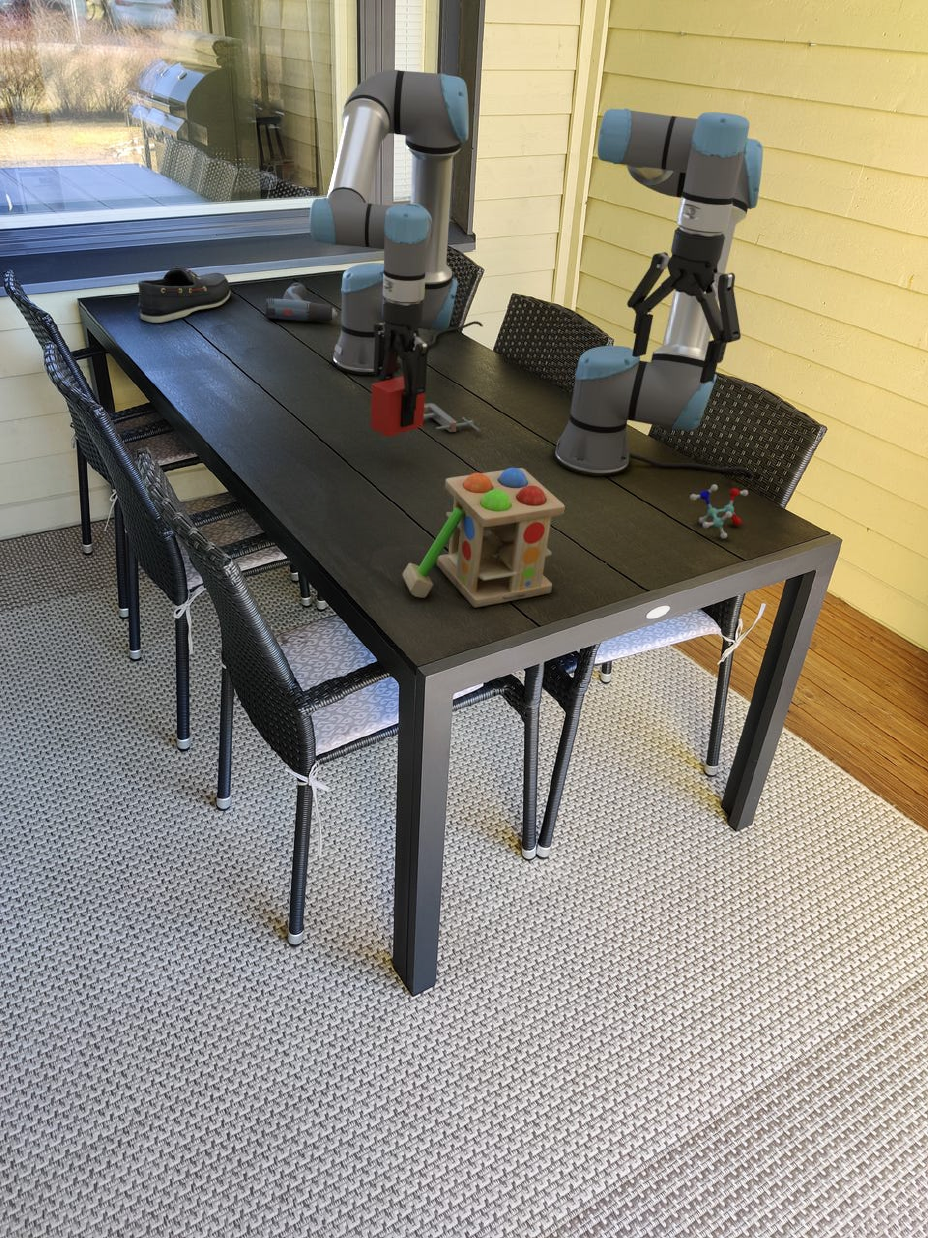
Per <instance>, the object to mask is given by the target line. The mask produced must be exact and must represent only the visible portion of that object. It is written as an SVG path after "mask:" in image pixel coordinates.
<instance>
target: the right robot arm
mask: <svg viewBox="0 0 928 1238" xmlns="http://www.w3.org/2000/svg"><path fill="white" fill-rule="evenodd" d="M599 127H600V128H599V132H598V139H597V157H598V159H599V160H600V161H602V162H606V163H612V164H613V165H624V166H626V168H627V171H628V173H629V175H630V176H631V178H632V179H634V181H636V182H637V183H638V184H640V185H642V186H644V187H646V188H648V189H650V190H652V191H654V192H656V193H659V194H663V195H664V196H668V197H674V198H679V199H680V204H679V208H678V213H677V219H676V224H677V225H678V227H677V228H676V229H674V233H673V238H672V243H671V247H670V252H671V256H669V254H668V252H667V251H664V252H658V253H654V254H653V256H652V258H651V262H650V265H649V268H648V269H647V271H645V274H644V276H643V277H642V279H641V280H640V282H639V283H638V285H637V286H636V288H635V289H634V291H633V292H632V294H631V296H630V297H629V298H628V300H627V303H626V305H627V307H628V308H629V309H633V310H634V313H635V319H634V324H633V329H632V330H633V334H635V338H634V343H633V348H631V347H627V346H621V345H603V346H597V347H593V348H590V349H588V350H586V351H584V352H583V353H582V354H581V355H580V357H579V360H578V363H577V368H576V372H575V374H574V387H573V392H572V398H571V405H570V412H569V417H568V422H567V424H566V426H565V428H564V430H563V432H562V434H561V435H560V437H558V440H557V442H556V447H555V450H554V451H555V452H554V458H555V459H554V460H556V462H557V463H558V464H559V465H560V466H561V467H563V468H565V469H566V470H569V471H572V472H573V473H577V474H580V475H585V476H590V477H591V476H592V477H611V476H616V475H619V474H622V473H625V471H626V470H627V469H628V467H629V462H630V459H633V460H636V461H640V462H643V463H646V464H649V465H652V466H655V467H661V468H692V469H693V468H694V469H699V470H707V471H708V470H709V471H714V472H728V473H729V472H743V473H746V474H747V475H748V476H749V477H750V478H755V474H754V473H753V472H752V471H751V472H748V470H747V469H748V468H746V467H745V466H744V467H743V466H732V467H731V466H730V467H729V466H728V467H722V466H713V465H707V464H700V463H692V462H660V461H656V460H652V459H649V458H646V457H644V456H640V455H637V454H633V453H630V449H629V444H628V442H629V441H628V436H627V425H628V421H631V422H636V423H641V424H647V425H652V426H658V427H661V428H663V427H664V428H668V429H671V430H680V431H688V432H690V431H694V430H696V429H697V428H698V427H699V426H700V423H701V421H702V418H703V415H704V413H705V411H706V408H707V405H708V402H709V399H710V396H711V393H712V391H713V389H714V385H715V383H716V381H717V379H718V375H717V374H716V372H717V368H718V364H721V363H722V362H723V360H724V357H725V353H726V349H727V346H728V344H729V343H733V342H736V341H740V340H741V338H742V337H741V336H742V334H741V329H740V327H741V326H740V322H739V316H738V309H737V302H736V296H735V291H734V290H735V289H734V288H735V282H736V275H735V273H734V272H728V273H726V269H727V265H728V260H729V256H730V253H731V248H732V244H733V238H734V234H735V230H736V227H737V225H738V224H739V223H741V222H742V221H743V220H745V219H746V218H747V215H748V210H752V209H755V208H756V207H757V205H758V201H759V193H760V185H761V180H762V179H761V178H762V169H763V168H762V167H763V157H764V156H763V155H764V148H763V144H762V143H761V141H759V140H758V139H754V138H749V131H750V121H749V120H748V118H747V117H745V116H742V115H739V114H735V113H728V112H719V111H717V112H716V111H708V112H702V113H701V114H699V115H698V117H697V118H694V117H693V118H692V117H687V116H679V115H677V116H676V115H668V114H667V115H666V114H659V113H652V112H645V111H639V110H638V111H637V110H631V109H630V108H623V109H622V108H609V109H607V110H606V111H605V112H604V114H603V116H602V119H601V123H600V126H599ZM666 269H667V270H668V274H669V276H668V277H666V278H665V280H663V281H662V282H661V283H660V285H659V286H658V287H657V288H656V289H655V290H654V291H653V292H652V293H651V294H650V292H651V291H652V289H653V288H654V287H655V285H656V284H657V282H658V281H659V278H660V277H661V276H662V275H663V273H664V271H665V270H666ZM672 292H673V295H672V300H671V305H670V309H669V314H668V318H667V323H666V327H665V332H664V336H663V341H662V345H661V346H660V347H658V348H657V349H656V350H654V351H653V352H652V355H651V359H650V361H645V360H641V357H642V356H645V355H647V351H648V345H649V339H650V335H651V329H652V325H653V320H654V314H651V312H653V311H652V310H653V309H655V307H657V306H658V305H659V304H660V303H661V302H662V301H663V300H664V299H665V298H667V297H668V296H669V295H670V294H671V293H672ZM711 336H712V339H713V340H711Z"/></svg>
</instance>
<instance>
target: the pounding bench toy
mask: <svg viewBox="0 0 928 1238" xmlns="http://www.w3.org/2000/svg"><path fill="white" fill-rule="evenodd" d="M444 489H445V490H446V491H447V492H448V494H450V496H451V497H452V498H453V504H452V505H453V506H452V511H446V512H445V515H446V516H447V520H446V521H445V523H444V525H443V527H442V528H441V530H440V531H439V533H438V535H437V536H436V538H435V540H434V542H433V543H432V544H431V547H430V548H429V550H428V552H426V555H425V556H424V558H423V560H422V562H421V563H420V564H419V565H418V564H415V563H412V562H409V563H408V564H407V565H406V567H405V569H404V570H403V572H402V575H401V576H402V578H403V580H404V582H405V584H406V586H407V588H408V591H409V593H410V594H411V595H412V596H414V597H416V598H420V599H421V598H423V599H424V598H426V597H427V596H428V594H429V593H430V592H431V590H432V588H433V586H434V584H433V581H432V579H431V577H430V575H429V573H430V572H431V570H432V569H433V567H434V565H435V563H436V565H437V567H438V568H439V570H440V571H441V572H442V573H443V574H444V575H445V576H446V578H447V579H448V580H449V581H450V582H451V583H452V584H453V586H454V587H455V588H456V589H457V590H458V591H459V593H461V595H462V596H463V597H464V599H466V601H468V602H469V604H470V605H471V606H472V607H473V608H481V607H487V606H492V605H496V604H501V603H506V602H507V603H508V602H511V601H512V602H513V601H517V600H521V599H522V600H523V599H527V598H533V597H537V596H542V595H547V594H550V593H552V588H553V583H552V582H551V581H550V580H549V579H548V577H546V576H545V575H544V571H545V569H544V568H545V563H546V558H547V557H549V556H552V554H553V553H552V551H551V550H550V549H549V548H548V544H549V536H550V529H551V522H552V517H558V516H562V515H564V513H565V508H566V506H565V505H564V503H563V502H562V501H561V500H559V499H558V498H557V497H556V496H555V495H554V494H553V493H552V492H551V491H549V490H548V489H547V488H546V487H545V486H544V485H542V483H540V481H538V480H537V479H536V478H535V477H534V476H532V474H530V473H529V472H528V471H527V470H526V469H525V468H523V467H519V468H518V467H508V468H506V469H502V470H496V471H494V470H493V471H487V472H473V473H471V474H467V475H466V474H465V475H459V476H452V477H447V478H446V479H445V484H444ZM484 531H490V532H488V533H486V534H484ZM448 542H449V545H448V546H449V547H448V553H447V554H441V553H442V552H443V550H444V549H445V547H446V545H447V544H448Z"/></svg>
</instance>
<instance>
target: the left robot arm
mask: <svg viewBox="0 0 928 1238" xmlns="http://www.w3.org/2000/svg"><path fill="white" fill-rule="evenodd" d="M469 115H470V114H469V95H468V88H467V84H466V82H465V80H464V79H463V78H461V77H460V76H455V75H454V76H453V75H448V74H445V73H438V72H437V73H436V72H423V71H422V72H421V71H409V70H399V69H393V68H392V69H391V68H390V69H385V70H381V71H378V72H375V73H374V74H372V75H369V76H368V77H367V78H365V79H364V80H362V81H361V82H360V83H359V84H358V85H356V87H355V88H354V89H353V90H352V91H351V93H350V94H349V95H348V97H347V99H346V100H345V104H344V106H343V110H342V114H341V125H342V127H343V132H342V135H341V139H340V143H339V147H338V151H337V156H336V160H335V164H334V168H333V173H332V176H331V180H330V184H329V188H328V191H327V192H328V193H327V196H326V197H323V198H315V199H314V200H312V202H311V205H310V208H309V209H310V210H309V232H310V236H311V238H312V239H313V240H314V241H315V242H319V243H324V244H328V245H329V244H330V245H332V246H334V245H335V246H345V247H347V246H348V247H360V248H370V249H376V250H377V249H379V250H383V263H382V262H370V263H369V262H368V263H361V264H356V265H352V266H351V267H348V268H346V270H345V271H344V272H343V274H342V277H341V278H342V281H341V287H340V292H341V319H340V321H341V324H340V325H341V326H340V329H341V330H340V336H339V338H338V341H337V343H335V347H334V349H333V350H334V352H333V361H332V362H333V363H332V364H333V366H334V367H335V368H337V369H338V370H339V371H342V372H344V373H347V374H352V375H356V376H375V377H378V378H379V382H382V381H386V380H390V379H394V378H396V376H395V371H396V368H397V364H398V359H399V358H400V360H401V367H402V374H403V375H402V376H403V377H404V386H405V392H404V393H402V405H401V425H400V426H401V427H406V426H409V425H413V424H414V410H416V403H417V395H418V394H422V393H425V394H426V391H427V373H428V355H429V352H430V348H431V347H432V346H434V345H435V344H436V341H437V337H438V336H440V335H441V334H444V333H447V332H453V331H459V330H462V329H465V328H467V327H470V326H473V325H478V326H479V327H484V325H483V323H482V322H480V321H476V320H473V321H470V322H468V323H466V324H463V325H460V326H455V327H451V328H448V327H449V326H450V323H451V319H452V314H453V310H454V305H455V300H456V294H457V290H458V284H459V281H458V280H457V279H455V278H454V277H453V270H452V268H451V267H450V266H448V264H447V255H448V241H449V240H448V239H449V225H450V224H449V223H450V209H451V193H452V192H451V191H452V178H453V177H452V176H453V159H454V156H455V155H456V154H458V153H459V152H460V151H461V146H462V143H464V142H467V141H468V139H469V130H470V129H469V128H470V126H469V123H470V122H469V119H470V118H469V117H470V116H469ZM389 134H393V135H398V136H399V135H400V136H405V142H404V143H405V147H406V148H407V150H408V151H410V153H411V176H410V179H411V180H410V182H411V183H410V203H406V204H396V205H388V204H376V203H369V200H370V196H371V192H372V187H373V181H374V178H375V172H376V167H377V163H378V159H379V155H380V150H381V145H382V142H383V141H384V140H385V139H386V138H387V136H388V135H389ZM420 329H422V330H427V331H431V330H438V331H437V332H436V333H434V335H433V337H432V342H429V341H424V340H423V339H422V338H421V335H420ZM411 387H412V388H411Z"/></svg>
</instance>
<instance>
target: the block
mask: <svg viewBox="0 0 928 1238" xmlns="http://www.w3.org/2000/svg"><path fill="white" fill-rule="evenodd" d="M411 388H412V387H411ZM404 392H405V386H404V377H403V375H402V376H399V377H395V378H394V379H390V380H386V381H382V382H381V381H377V382H374V383H372V384H371V400H370V401H371V402H370V403H371V405H370V429H372V430H374V431H375V432H377V433H379V434H381V435H382V436H384V437H386V438H389V437H392V436H395V435H399V434H402V433H406V432H410V431H413V430H416V429H420V428H423V427H424V420H423V418H424V404H425V402H426V401H425V400H426V392H425V393H422V394H418V395H417V403H416V410H414V424H413V425H409V426H406V427H401V426H400V425H401V405H402V393H404Z"/></svg>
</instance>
